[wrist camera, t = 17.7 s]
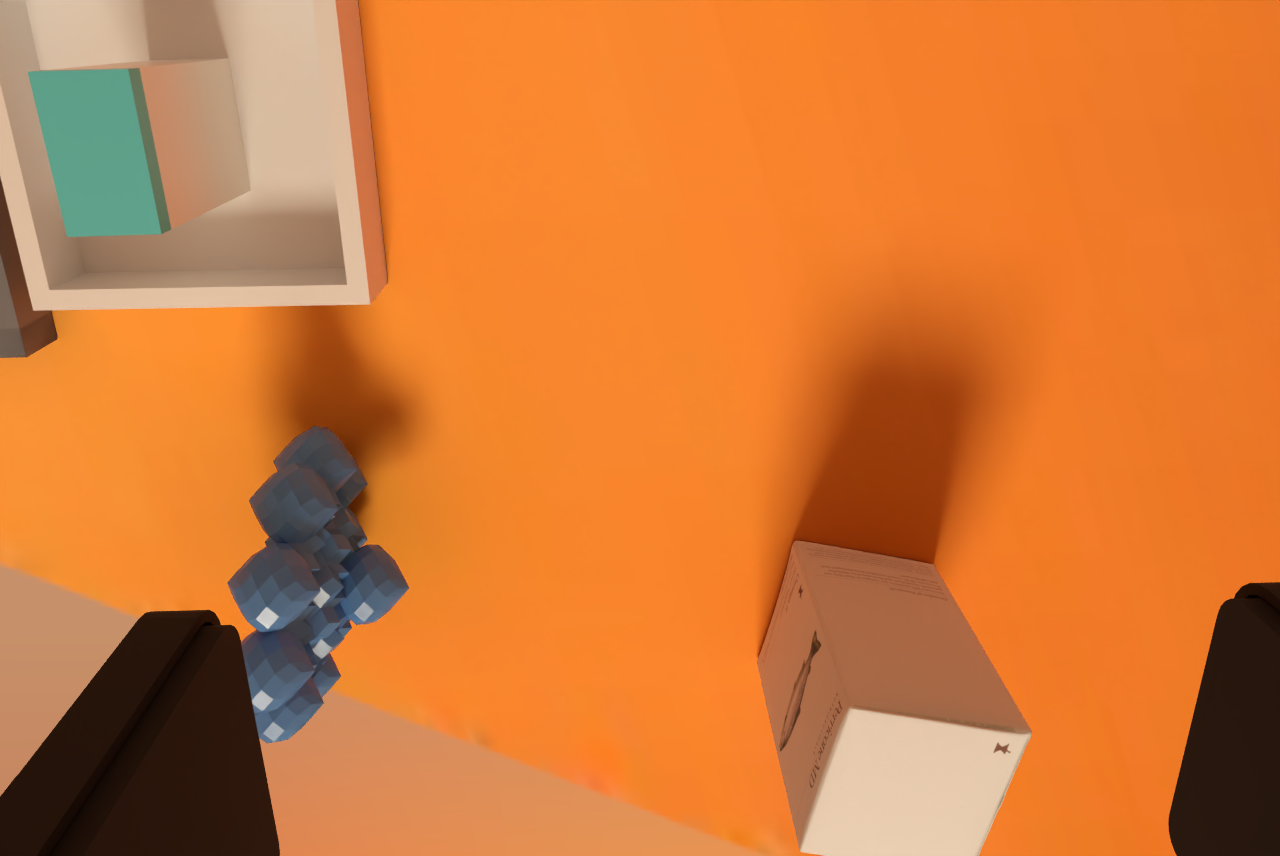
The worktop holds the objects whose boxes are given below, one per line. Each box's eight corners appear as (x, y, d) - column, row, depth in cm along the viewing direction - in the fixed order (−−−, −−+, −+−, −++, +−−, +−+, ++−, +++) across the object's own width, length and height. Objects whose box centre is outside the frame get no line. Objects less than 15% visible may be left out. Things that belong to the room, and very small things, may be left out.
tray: (-1, -54, 37) (-58, -61, 34) (351, -58, 38) (328, -65, 35) (77, 288, 42) (33, 310, 39) (387, 282, 43) (370, 304, 39)
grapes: (426, 628, 49) (374, 805, 38) (285, 615, 49) (190, 792, 38) (438, 407, 45) (382, 535, 34) (283, 391, 44) (175, 515, 33)
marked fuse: (149, 60, 39) (27, 71, 30) (228, 58, 39) (127, 69, 30) (175, 192, 40) (67, 237, 32) (250, 190, 40) (161, 234, 32)
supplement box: (790, 534, 48) (850, 701, 36) (937, 561, 49) (1042, 733, 37) (750, 662, 51) (794, 856, 39) (890, 685, 51) (975, 882, 40)
